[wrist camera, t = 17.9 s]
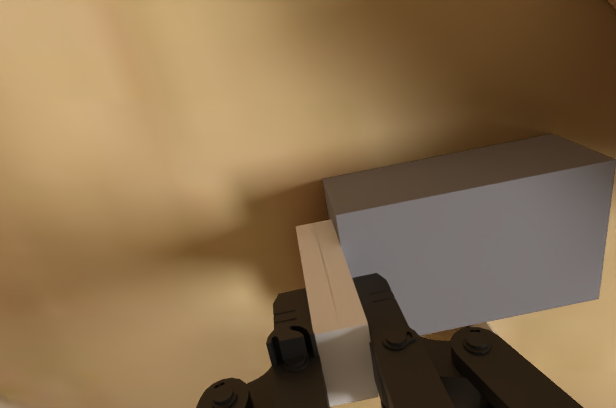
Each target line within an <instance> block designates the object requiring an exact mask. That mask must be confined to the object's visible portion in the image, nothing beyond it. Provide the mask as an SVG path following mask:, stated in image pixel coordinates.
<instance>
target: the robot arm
mask: <svg viewBox="0 0 616 408" xmlns="http://www.w3.org/2000/svg"><path fill="white" fill-rule="evenodd" d="M296 232H297V238H298V244H299V250H300V256H301V262H302V268H303V274H304V280H305V286H306V288H304V289H299V290H295V291H290V292H285V293H280V294H278V296H277V298H276V299H275V301H274V303H273V313H274V331H272V333H271V334H270V335H269V336H268V339H267V343H266V345H267V349H268V352H269V356H270V360H271V363H272V366H271V368H270V369H269V370H268V371H267V372H266V373H265V374H264V375H263V376H261V377H259V378H258V379H256V380H254V381H252V382H250V383H248V384H246V383H245V382H243V381H242V380H240V379H235V378H228V379H222V380H220V381H218V382H216V383H214V384H212V385H211V386H210V387H209V388H207V389H206V390H205V392H204V393H203V395H202V396H201V398H200V400H199V402H198V405H197V407H196V408H330V407H332V406H337V405H342V404H346V403H351V402H356V401H361V400H366V399H370V398H375V397H378V393H379V396H380V399H381V405H382V408H583V407H582V406H581V405H580V404H579V403H577V402H576V401H575V400H574V399H573V398H571V397H570V396H569V395H568V394H567V393H566V392H564V391H563V390H562V389H561V388H560V387H558V386H557V385H556V384H555V383H554V382H552V381H551V380H550V379H549V378H548V377H547V376H545V375H544V374H543V373H542V372H541V371H539V370H538V369H537V368H536V367H535V366H534V365H532V364H531V363H530V362H529V361H528V360H526V359H525V358H524V357H523V356H522V355H521V354H519V353H518V352H517V351H516V350H515V349H513V348H512V347H511V346H510V345H509V344H508V343H506V342H505V341H504V340H503V339H502V338H500V337H499V336H498V335H497V334H495V333H493V332H492V331H490V330H487V329H484V328H480V327H468V328H463V329H460V330H459V331H457V332H456V333H454V335H453V336H452V338H451V341H437V340H429V339H426V338H423V337H421V336H419V335H418V334H417V333H416V331H415V330H413V329H411V328H410V327H409V326H408V323H407V321H406V319H405V317H404V315H403V313H402V311H401V309H400V307H399V305H398V303H397V301H396V299H395V296H394V294H393V292H392V291H391V288H390V286H389V284H388V282H387V280H386V279H385V278H383V277H382V276H381V275H379V274H378V273H373V274H368V275H364V276H359V277H354V278H352V277H351V274H350V271H349V268H348V265H347V262H346V260H345V257H344V254H343V251H342V248H341V245H340V243H339V240H338V237H337V234H336V231H335V228H334V225H333V223H332V220H331V219H330V220H325V221H320V222H315V223H310V224H305V225H300V226H296Z"/></svg>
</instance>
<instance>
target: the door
mask: <svg viewBox="0 0 616 408" xmlns="http://www.w3.org/2000/svg"><path fill="white" fill-rule="evenodd" d="M607 1H608V2H609V3H610V4H611V5H612V6H613V7H614V8H615V9H616V0H607Z"/></svg>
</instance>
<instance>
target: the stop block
mask: <svg viewBox="0 0 616 408" xmlns="http://www.w3.org/2000/svg"><path fill="white" fill-rule="evenodd" d="M615 166H616V159H613V158H611V157H608V156H606V155H603V154H601V153H599V152H596V151H594V150H591V149H589V148H586V147H584V146H581V145H579V144H576V143H574V142H571V141H569V140H566V139H564V138H561V137H559V136H556V135H554V134H548V135H543V136H538V137H533V138H528V139H523V140H518V141H513V142H508V143H503V144H497V145H492V146H487V147H482V148H477V149H472V150H467V151H462V152H457V153H452V154H447V155H441V156H436V157H431V158H426V159H421V160H416V161H411V162H406V163H401V164H396V165H391V166H386V167H380V168H375V169H370V170H365V171H360V172H355V173H350V174H345V175H340V176H335V177H330V178H324V179H322V181H323V187H324V193H325V199H326V204H327V210H328V216H329V220H330V219H331V220H332V223H333V225H334V228H335V231H336V234H337V237H338V240H339V243H340V245H341V248H342V251H343V254H344V257H345V260H346V262H347V265H348V268H349V271H350V274H351V277H352V278H354V277H359V276H364V275H368V274H373V273H378V274H379V275H381V276H382V277H383V278H385V279H386V280H387V282H388V284H389V286H390V288H391V291H392V292H393V294H394V296H395V299H396V301H397V303H398V305H399V307H400V309H401V311H402V313H403V315H404V317H405V319H406V321H407V323H408V326H409V327H410V328H411V329H413V330H415V331H416V333H417V334H418V335H419V336H421V335H425V334H430V333H435V332H440V331H445V330H450V329H455V328H459V327H464V326H469V325H474V324H479V323H484V322H489V321H494V320H498V319H503V318H508V317H513V316H518V315H523V314H528V313H532V312H537V311H542V310H547V309H552V308H557V307H562V306H566V305H571V304H576V303H581V302H586V301H591V300H596V299H599V293H600V285H601V277H602V269H603V261H604V253H605V245H606V237H607V230H608V222H609V214H610V206H611V198H612V190H613V182H614V174H615Z"/></svg>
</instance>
